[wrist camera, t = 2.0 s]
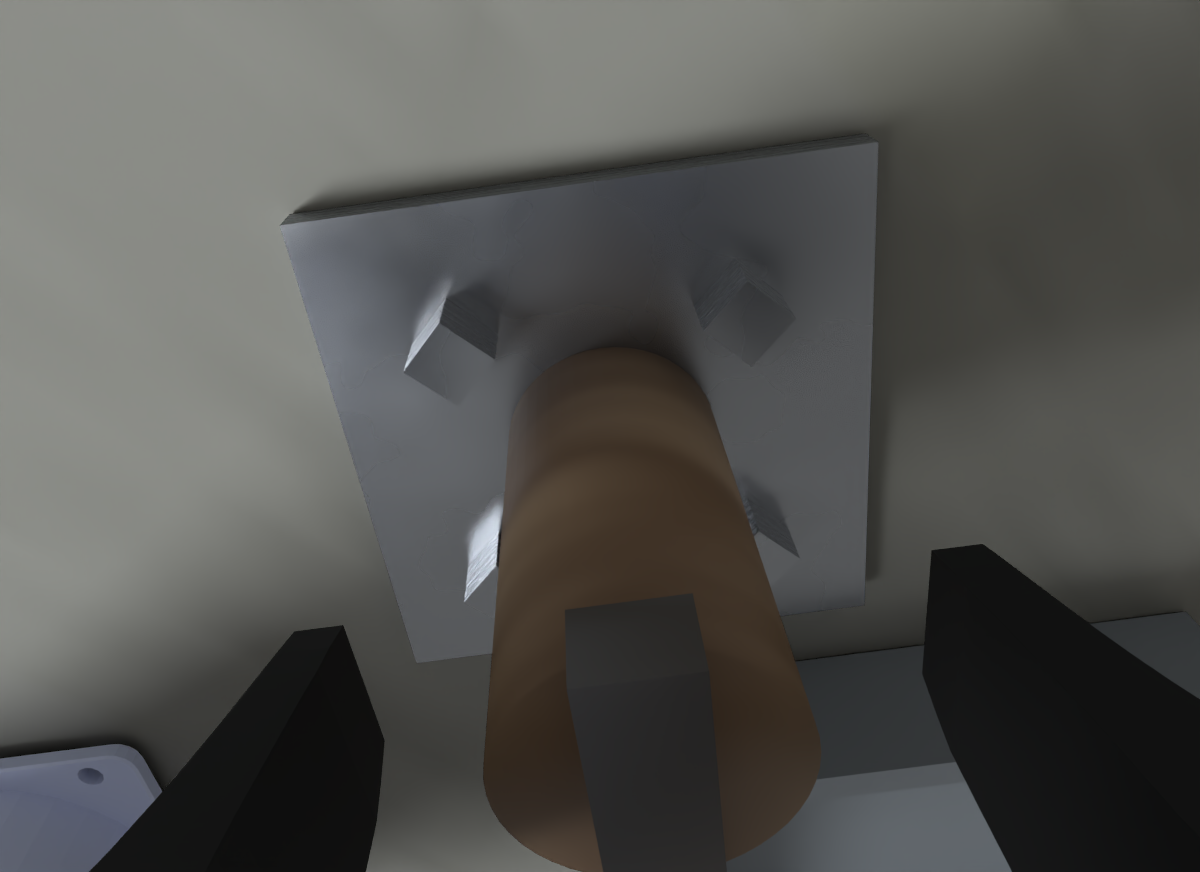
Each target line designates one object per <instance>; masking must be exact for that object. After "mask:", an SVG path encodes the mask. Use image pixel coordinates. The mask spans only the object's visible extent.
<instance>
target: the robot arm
mask: <svg viewBox="0 0 1200 872" xmlns="http://www.w3.org/2000/svg"><path fill="white" fill-rule="evenodd" d="M922 675H923V678H924V681H925V683H926V686H927V689H928V692H929V695H930V697H931V700H932V703H933V706H934V709H935V712H936V714H937V717H938V720H939V722H940V725H941V728H942V730H943V733H944V735H945V738H946V741H947V743H948V746H949V749H950V751H951V753H952V755H953V757H954V759H955V761H956V763H957V765H958V767H959V769H960V771H961V773H962V775H963V777H964V779H965V781H966V783H967V785H968V787H969V789H970V791H971V793H972V795H973V797H974V799H975V801H976V803H977V805H978V807H979V809H980V811H981V813H982V815H983V817H984V818H985V820H986V822H987V824H988V826H989V828H990V830H991V832H992V834H993V836H994V838H995V840H996V842H997V844H998V846H999V848H1000V849H1001V851H1002V853H1003V855H1004V857H1005V859H1006V861H1007V863H1008V865H1009V867H1010V869H1011V871H1012V872H1200V699H1199V698H1197V697H1196V696H1194V695H1193V694H1191V693H1189V692H1188V691H1186V690H1185V689H1183V688H1182V687H1180V686H1179V685H1177V684H1175V683H1174V682H1172V681H1171V680H1170V679H1168V678H1167V677H1165V676H1164V675H1162V674H1161V673H1159V672H1158V671H1156V670H1155V669H1153V668H1152V667H1150V666H1149V665H1147V664H1146V663H1144V662H1143V661H1141V660H1140V659H1139V658H1137V657H1136V656H1134V655H1133V654H1131V653H1130V652H1128V651H1127V650H1126V649H1124V648H1123V647H1121V646H1120V645H1119V644H1117V643H1116V642H1114V641H1113V640H1112V639H1110V638H1109V637H1107V636H1106V635H1105V634H1103V633H1102V632H1100V631H1099V630H1098V629H1096V628H1095V627H1093V626H1092V625H1091V624H1089V623H1088V622H1087V621H1085V620H1084V619H1082V618H1081V617H1080V616H1078V615H1077V614H1076V613H1074V612H1073V611H1072V610H1070V609H1069V608H1068V607H1066V606H1065V605H1064V604H1062V603H1061V602H1060V601H1058V600H1057V599H1056V598H1054V597H1053V596H1051V595H1050V594H1049V593H1047V592H1046V591H1045V590H1043V589H1042V588H1041V587H1039V586H1038V585H1037V584H1036V583H1034V582H1033V581H1032V580H1030V579H1029V578H1028V577H1026V576H1025V575H1024V574H1022V573H1021V572H1020V571H1018V570H1017V569H1016V568H1014V567H1013V566H1012V565H1010V564H1009V563H1008V562H1006V561H1005V560H1004V559H1002V558H1001V557H1000V556H998V555H997V554H996V553H994V552H993V551H992V550H990V549H989V548H987V547H986V546H985V545H983V544H979V545H971V546H963V547H955V548H947V549H939V550H932V553H931V566H930V578H929V591H928V604H927V617H926V630H925V642H924V655H923V668H922ZM383 752H384V738H383V735H382V732H381V729H380V726H379V724H378V721H377V718H376V715H375V712H374V710H373V707H372V704H371V701H370V699H369V696H368V693H367V690H366V687H365V685H364V682H363V679H362V676H361V674H360V671H359V668H358V665H357V662H356V660H355V657H354V654H353V651H352V649H351V646H350V643H349V640H348V637H347V635H346V632H345V629H344V626H343V625H342V626H334V627H326V628H318V629H311V630H303V631H295V632H294V633H293V634H292V635H291V636H290V638H289V639H288V640H287V641H286V642H285V644H284V645H283V646H282V647H281V648H280V650H279V651H278V652H277V653H276V655H275V656H274V657H273V658H272V660H271V661H270V662H269V663H268V664H267V666H266V667H265V668H264V669H263V671H262V672H261V673H260V674H259V676H258V677H257V678H256V679H255V681H254V682H253V683H252V684H251V686H250V687H249V688H248V689H247V691H246V692H245V693H244V694H243V696H242V697H241V698H240V699H239V701H238V702H237V703H236V704H235V706H234V707H233V708H232V709H231V711H230V712H229V713H228V714H227V716H226V717H225V718H224V719H223V721H222V722H221V723H220V724H219V726H218V727H217V728H216V729H215V730H214V732H213V733H212V734H211V735H210V736H209V738H208V739H207V740H206V741H205V742H204V744H203V745H202V746H201V747H200V748H199V750H198V751H197V752H196V753H195V754H194V756H193V757H192V758H191V759H190V760H189V762H188V763H187V764H186V765H185V766H184V768H183V769H182V770H181V771H180V772H179V774H178V775H177V776H176V777H175V778H174V779H173V781H172V782H171V783H170V784H169V785H168V786H167V787H166V788H165V789H164V791H163V792H162V790H161V789H160V787H159V785H158V783H157V781H156V780H155V778H154V776H153V774H152V773H151V771H150V769H149V767H148V765H147V764H146V762H145V760H144V758H143V757H142V756H141V755H140V753H139V752H138V751H137V750H135V749H133V748H132V747H130V746H126V745H123V744H110V745H102V746H95V747H87V748H79V749H71V750H63V751H56V752H48V753H40V754H32V755H24V756H17V757H9V758H1V759H0V872H366V868H367V863H368V859H369V854H370V850H371V845H372V840H373V836H374V831H375V826H376V821H377V813H378V804H379V795H380V786H381V775H382V763H383Z"/></svg>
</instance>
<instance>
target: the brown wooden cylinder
mask: <svg viewBox="0 0 1200 872" xmlns="http://www.w3.org/2000/svg"><path fill="white" fill-rule="evenodd" d="M820 761H821V744H820V736H819V733H818V729H817V726H816V723H815V720H814V717H813V714H812V711H811V708H810V705H809V702H808V699H807V696H806V693H805V690H804V687H803V683H802V680H801V677H800V674H799V671H798V668H797V665H796V662H795V659H794V656H793V653H792V650H791V647H790V644H789V641H788V638H787V635H786V632H785V629H784V626H783V623H782V620H781V617H780V614H779V611H778V608H777V605H776V602H775V599H774V596H773V593H772V590H771V587H770V584H769V581H768V578H767V575H766V572H765V569H764V566H763V563H762V560H761V557H760V554H759V551H758V548H757V545H756V542H755V539H754V536H753V533H752V530H751V527H750V524H749V521H748V518H747V515H746V512H745V509H744V506H743V503H742V499H741V496H740V493H739V490H738V487H737V484H736V481H735V478H734V475H733V472H732V469H731V466H730V463H729V460H728V457H727V454H726V451H725V448H724V445H723V442H722V439H721V436H720V433H719V430H718V427H717V424H716V421H715V418H714V415H713V412H712V409H711V406H710V404H709V402H708V399H707V397H706V395H705V394H704V392H703V391H702V389H701V388H700V386H699V385H698V384H697V382H696V381H695V380H694V379H693V378H692V377H691V376H690V375H689V374H688V373H687V372H685V371H684V370H683V369H682V368H681V367H679V366H678V365H676V364H674V363H673V362H671V361H670V360H668V359H666V358H663V357H661V356H659V355H657V354H654V353H650V352H647V351H644V350H639V349H633V348H623V347H609V348H598V349H593V350H588V351H584V352H581V353H578V354H575V355H572V356H570V357H568V358H565V359H563V360H561V361H559V362H558V363H556V364H554V365H553V366H551V367H550V368H548V369H547V370H545V371H544V372H543V373H542V374H541V375H539V376H538V377H537V378H536V379H535V380H534V381H533V382H532V383H531V385H530V386H529V387H528V388H527V389H526V391H525V392H524V394H523V395H522V397H521V398H520V400H519V402H518V404H517V406H516V408H515V411H514V414H513V417H512V420H511V425H510V430H509V441H508V454H507V467H506V480H505V493H504V506H503V519H502V532H501V545H500V558H499V571H498V584H497V596H496V609H495V622H494V635H493V648H492V661H491V674H490V687H489V700H488V713H487V726H486V739H485V752H484V767H483V780H484V786H485V791H486V795H487V798H488V801H489V803H490V806H491V808H492V810H493V812H494V813H495V815H496V817H497V818H498V820H499V821H500V823H501V824H502V825H503V826H504V827H505V828H506V830H507V831H508V832H509V833H510V834H511V835H512V836H513V837H514V838H516V839H517V840H518V841H519V842H520V843H521V844H523V845H524V846H526V847H527V848H529V849H530V850H532V851H533V852H535V853H536V854H538V855H540V856H542V857H544V858H546V859H548V860H550V861H552V862H554V863H557V864H560V865H562V866H565V867H568V868H570V869H574V870H578V871H582V872H727V868H726V862H727V861H729V860H731V859H734V858H736V857H738V856H740V855H743V854H745V853H746V852H748V851H750V850H752V849H754V848H755V847H757V846H759V845H761V844H762V843H763V842H765V841H766V840H768V839H769V838H771V837H772V836H773V835H775V834H776V833H777V832H778V831H780V830H781V829H782V828H783V827H784V826H785V825H786V824H788V823H789V822H790V820H791V819H792V818H793V817H794V816H795V815H796V814H797V813H798V811H799V810H800V809H801V807H802V806H803V805H804V803H805V802H806V800H807V799H808V797H809V795H810V793H811V791H812V789H813V787H814V785H815V783H816V779H817V776H818V772H819V769H820Z"/></svg>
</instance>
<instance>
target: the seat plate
mask: <svg viewBox="0 0 1200 872" xmlns="http://www.w3.org/2000/svg"><path fill="white" fill-rule="evenodd" d="M877 174H878V141H876V140H875V139H873V138H872V137H870V136H869V135H868V134H859V135H852V136H845V137H838V138H830V139H823V140H816V141H809V142H802V143H795V144H788V145H780V146H773V147H766V148H759V149H752V150H745V151H737V152H730V153H723V154H716V155H709V156H702V157H695V158H687V159H680V160H673V161H666V162H659V163H652V164H645V165H637V166H630V167H623V168H616V169H609V170H602V171H595V172H587V173H580V174H573V175H566V176H559V177H552V178H544V179H537V180H530V181H523V182H516V183H509V184H502V185H494V186H487V187H480V188H473V189H466V190H459V191H452V192H444V193H437V194H430V195H423V196H416V197H409V198H402V199H394V200H387V201H380V202H373V203H366V204H359V205H351V206H344V207H337V208H330V209H323V210H316V211H309V212H301V213H294V214H289V216H288V217H287V218H286V219H285V220H284V221H283V222H282V224H281V225H280V228H281V231H282V234H283V237H284V241H285V244H286V247H287V250H288V253H289V257H290V260H291V263H292V266H293V270H294V273H295V276H296V279H297V282H298V286H299V289H300V292H301V295H302V298H303V302H304V305H305V308H306V311H307V314H308V318H309V321H310V324H311V327H312V330H313V334H314V337H315V340H316V343H317V346H318V350H319V353H320V356H321V359H322V362H323V366H324V369H325V372H326V375H327V378H328V382H329V385H330V388H331V391H332V394H333V398H334V401H335V404H336V407H337V410H338V414H339V417H340V420H341V423H342V426H343V430H344V433H345V436H346V439H347V443H348V446H349V449H350V452H351V455H352V459H353V462H354V465H355V468H356V471H357V475H358V478H359V481H360V484H361V487H362V491H363V494H364V497H365V500H366V503H367V507H368V510H369V513H370V516H371V519H372V523H373V526H374V529H375V532H376V535H377V539H378V542H379V545H380V548H381V551H382V555H383V558H384V561H385V564H386V567H387V571H388V574H389V577H390V580H391V583H392V587H393V590H394V593H395V596H396V599H397V603H398V606H399V609H400V612H401V616H402V619H403V622H404V625H405V628H406V632H407V635H408V638H409V641H410V644H411V648H412V651H413V654H414V657H415V660H416V663H422V662H430V661H437V660H445V659H453V658H461V657H468V656H476V655H484V654H491V653H492V648H493V635H494V622H495V609H496V596H497V584H498V571H499V558H500V545H501V532H502V519H503V506H504V493H505V480H506V467H507V454H508V441H509V430H510V425H511V420H512V417H513V414H514V411H515V408H516V406H517V404H518V402H519V400H520V398H521V397H522V395H523V394H524V392H525V391H526V389H527V388H528V387H529V386H530V385H531V383H532V382H533V381H534V380H535V379H536V378H537V377H538V376H539V375H541V374H542V373H543V372H544V371H545V370H547V369H548V368H550V367H551V366H553V365H554V364H556V363H558V362H559V361H561V360H563V359H565V358H568V357H570V356H572V355H575V354H578V353H581V352H584V351H588V350H593V349H598V348H609V347H623V348H633V349H639V350H644V351H647V352H650V353H654V354H657V355H659V356H661V357H663V358H666V359H668V360H670V361H671V362H673V363H674V364H676V365H678V366H679V367H681V368H682V369H683V370H684V371H685V372H687V373H688V374H689V375H690V376H691V377H692V378H693V379H694V380H695V381H696V382H697V384H698V385H699V386H700V388H701V389H702V391H703V392H704V394H705V395H706V397H707V399H708V402H709V404H710V406H711V409H712V412H713V415H714V418H715V421H716V424H717V427H718V430H719V433H720V436H721V439H722V442H723V445H724V448H725V451H726V454H727V457H728V460H729V463H730V466H731V469H732V472H733V475H734V478H735V481H736V484H737V487H738V490H739V493H740V496H741V499H742V503H743V506H744V509H745V512H746V515H747V518H748V521H749V524H750V527H751V530H752V533H753V536H754V539H755V542H756V545H757V548H758V551H759V554H760V557H761V560H762V563H763V566H764V569H765V572H766V575H767V578H768V581H769V584H770V587H771V590H772V593H773V596H774V599H775V602H776V605H777V608H778V611H779V614H780V616H786V615H793V614H801V613H809V612H816V611H824V610H832V609H840V608H847V607H855V606H863V605H864V602H865V569H866V536H867V504H868V471H869V438H870V405H871V372H872V339H873V306H874V273H875V240H876V207H877Z"/></svg>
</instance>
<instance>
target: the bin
mask: <svg viewBox="0 0 1200 872" xmlns="http://www.w3.org/2000/svg"><path fill="white" fill-rule="evenodd" d="M1091 625H1092V626H1093V627H1095V628H1096V629H1098V630H1099V631H1100V632H1102V633H1103V634H1105V635H1106V636H1107V637H1109V638H1110V639H1112V640H1113V641H1114V642H1116V643H1117V644H1119V645H1120V646H1121V647H1123V648H1124V649H1126V650H1127V651H1128V652H1130V653H1131V654H1133V655H1134V656H1136V657H1137V658H1139V659H1140V660H1141V661H1143V662H1144V663H1146V664H1147V665H1149V666H1150V667H1152V668H1153V669H1155V670H1156V671H1158V672H1159V673H1161V674H1162V675H1164V676H1165V677H1167V678H1168V679H1170V680H1171V681H1172V682H1174V683H1175V684H1177V685H1179V686H1180V687H1182V688H1183V689H1185V690H1186V691H1188V692H1189V693H1191V694H1193V695H1194V696H1196V697H1197V698H1199V699H1200V626H1199V625H1198V624H1197V623H1196V622H1195V621H1194V620H1193V619H1192V618H1191V617H1190V615H1189V614H1188V613H1187V612H1179V613H1171V614H1163V615H1156V616H1148V617H1140V618H1132V619H1124V620H1117V621H1109V622H1101V623H1093V624H1091ZM923 655H924V645H921V646H914V647H906V648H898V649H890V650H882V651H875V652H867V653H859V654H851V655H843V656H836V657H828V658H820V659H812V660H804V661H797V662H796V665H797V668H798V671H799V674H800V677H801V680H802V683H803V687H804V690H805V693H806V696H807V699H808V702H809V705H810V708H811V711H812V714H813V717H814V720H815V723H816V726H817V729H818V733H819V736H820V744H821V761H820V769H819V772H818V776H817V779H816V783H815V785H814V787H813V789H812V791H811V793H810V795H809V797H808V799H807V800H806V802H805V803H804V805H803V806H802V807H801V809H800V810H799V811H798V813H797V814H796V815H795V816H794V817H793V818H792V819H791V820H790V822H789V823H788V824H786V825H785V826H784V827H783V828H782V829H781V830H780V831H778V832H777V833H776V834H775V835H773V836H772V837H771V838H769V839H768V840H766V841H765V842H763V843H762V844H761V845H759V846H757V847H755V848H754V849H752V850H750V851H748V852H746V853H745V854H743V855H740V856H738V857H736V858H734V859H731V860H729V861H727V862H726V868H727V872H1012V871H1011V869H1010V867H1009V865H1008V863H1007V861H1006V859H1005V857H1004V855H1003V853H1002V851H1001V849H1000V848H999V846H998V844H997V842H996V840H995V838H994V836H993V834H992V832H991V830H990V828H989V826H988V824H987V822H986V820H985V818H984V817H983V815H982V813H981V811H980V809H979V807H978V805H977V803H976V801H975V799H974V797H973V795H972V793H971V791H970V789H969V787H968V785H967V783H966V781H965V779H964V777H963V775H962V773H961V771H960V769H959V767H958V765H957V763H956V761H955V759H954V757H953V755H952V753H951V751H950V749H949V746H948V743H947V741H946V738H945V735H944V733H943V730H942V728H941V725H940V722H939V720H938V717H937V714H936V712H935V709H934V706H933V703H932V700H931V697H930V695H929V692H928V689H927V686H926V683H925V681H924V678H923V675H922V668H923Z"/></svg>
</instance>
